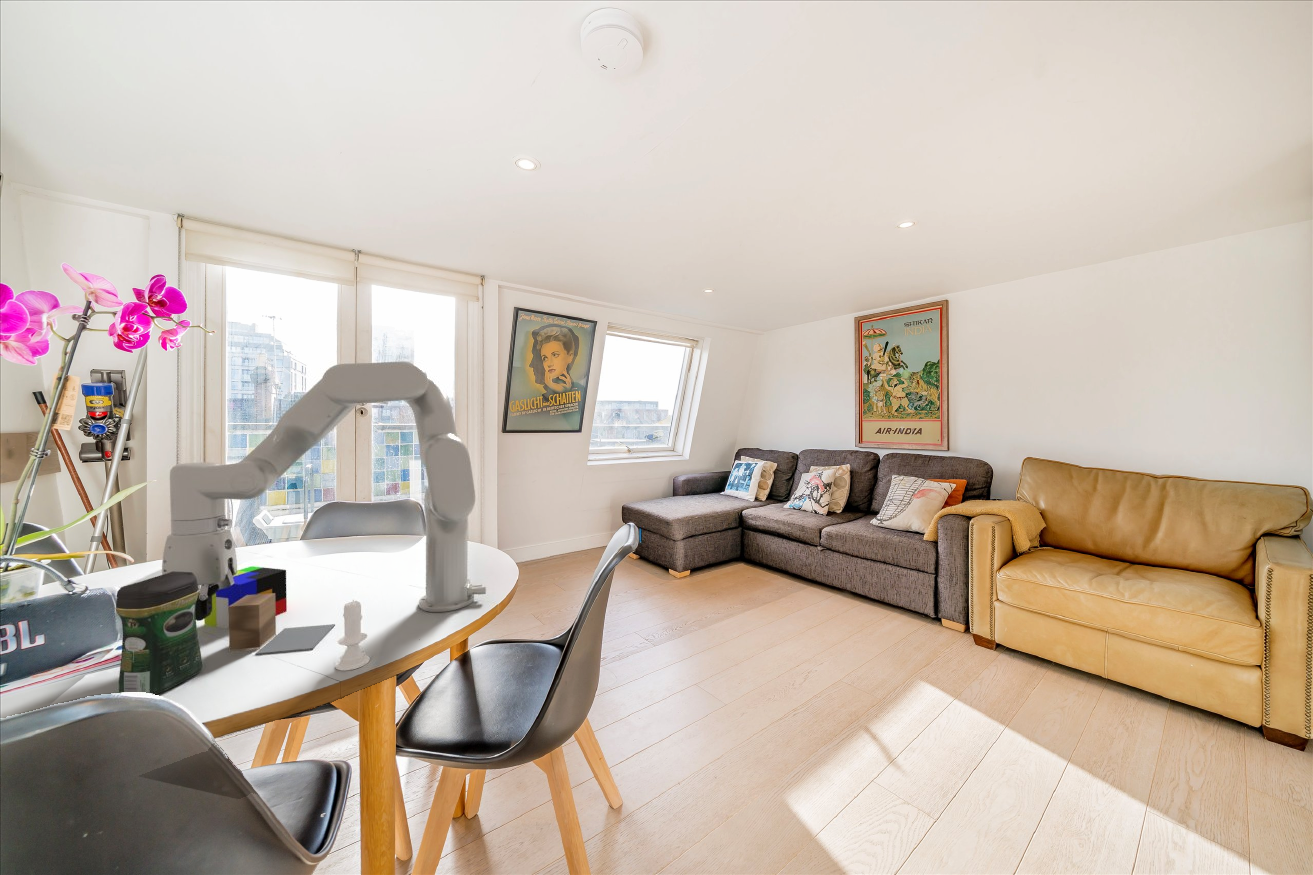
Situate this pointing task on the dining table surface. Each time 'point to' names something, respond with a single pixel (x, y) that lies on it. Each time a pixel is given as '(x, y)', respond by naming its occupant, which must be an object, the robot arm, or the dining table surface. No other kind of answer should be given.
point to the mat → (296, 639)
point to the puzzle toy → (248, 592)
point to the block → (252, 622)
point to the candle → (352, 639)
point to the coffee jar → (158, 632)
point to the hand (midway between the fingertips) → (200, 617)
